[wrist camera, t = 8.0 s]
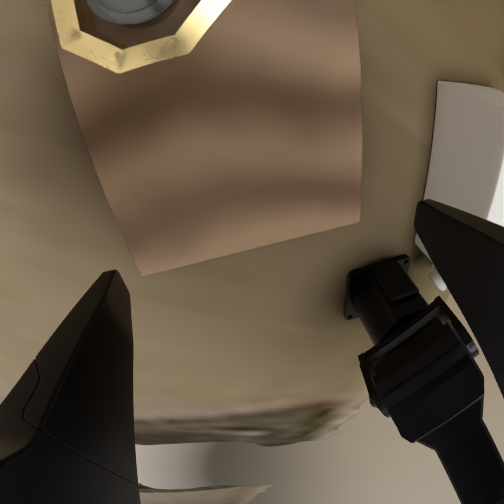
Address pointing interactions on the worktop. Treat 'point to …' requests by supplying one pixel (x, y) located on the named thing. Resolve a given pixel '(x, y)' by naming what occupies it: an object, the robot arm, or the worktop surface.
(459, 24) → the worktop surface
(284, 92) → the copper plate
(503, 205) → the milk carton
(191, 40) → the brass ring
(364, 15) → the worktop surface
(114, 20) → the steel post
